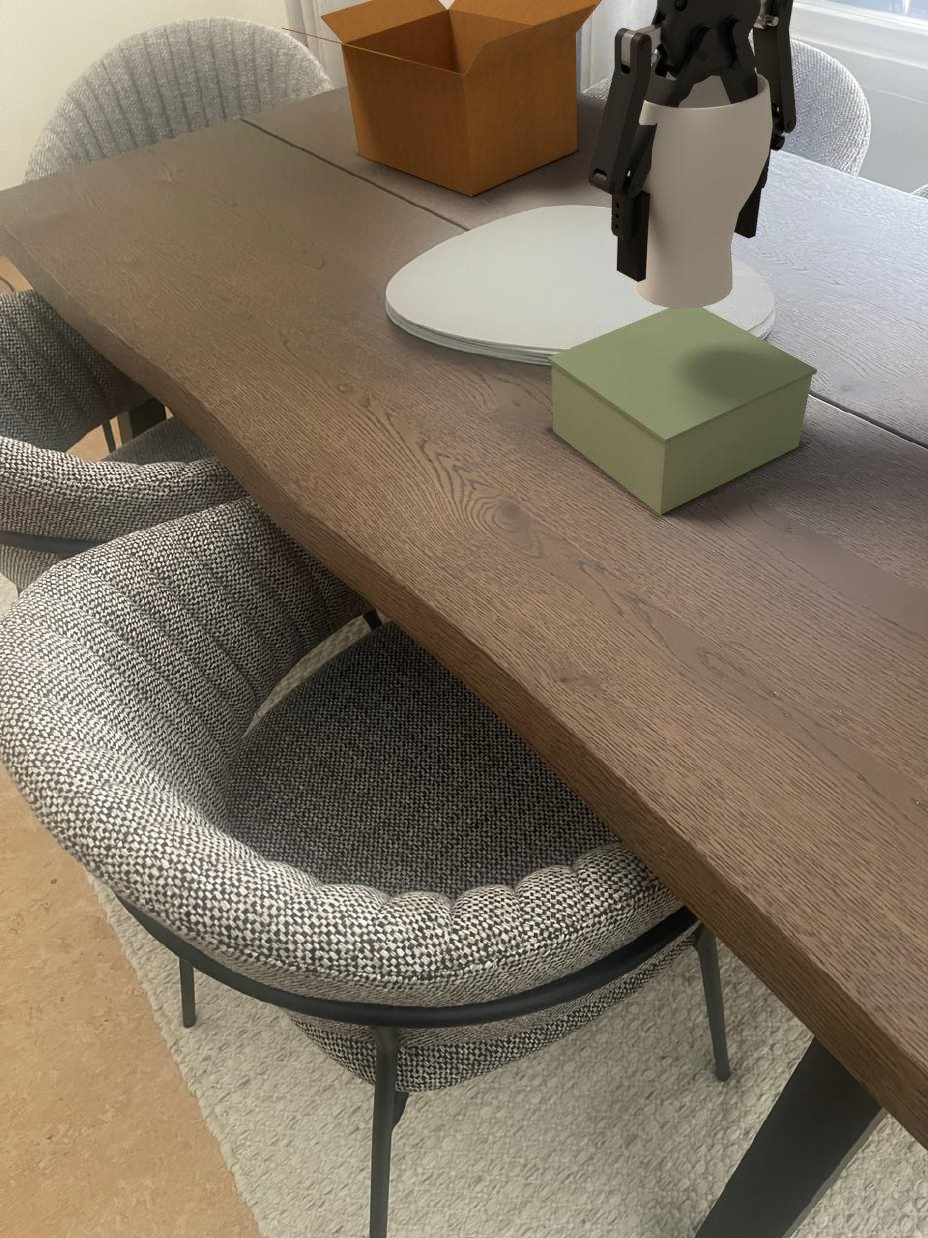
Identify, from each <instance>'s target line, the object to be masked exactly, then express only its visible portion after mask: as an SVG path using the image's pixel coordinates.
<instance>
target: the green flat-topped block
mask: <svg viewBox="0 0 928 1238" xmlns="http://www.w3.org/2000/svg"><path fill="white" fill-rule="evenodd" d="M547 361H548V362H549V363H550V365H551V395H552V397H551V399H552V400H551V402H552V432H553V433H554V434H556V435H557V436H558V437H560V438H561V439H562V440H564V441H565V442H566V443H568V445H570V446H572V447H573V448H574V449H575V450H577V451H578V452H579V453H580V454H582V456H584V457H585V458H586V459H588V460H590V462H592V463H593V464H594V465H596V466H597V468H599V469H601V470H602V471H603V472H605V473H606V474H607V475H608V476H610V477H611V478H612V479H613V480H614V481H616V482H618V483H619V485H621V486H622V487H624V488H625V489H627V490H628V491H629V492H630V493H632V495H634V496H635V497H637V498H638V499H639V500H641V501H642V502H643V503H644V504H645V505H646V506H648V507H649V508H651V509H652V510H653V511H655V512H656V513H657V514H659V515H660V516H661V515H663V514H665V513H667V512H669V511H671V510H673V509H675V508H678V507H679V506H681V505H683V504H685V503H688V502H690V501H691V500H694V499H695V498H698V497H700V496H701V495H703V494H706V493H708V492H710V491H711V490H714V489H716V488H717V487H720V486H721V485H724V484H726V483H729V482H730V481H732V480H734V479H736V478H738V477H740V476H742V475H744V474H746V473H748V472H750V471H752V470H754V469H757V468H758V467H760V466H762V465H764V464H766V463H768V462H770V461H772V460H775V459H777V458H778V457H780V456H782V455H785V454H786V453H789V452H790V451H792V450H794V449H796V448H798V447H799V445H800V440H801V436H802V435H801V434H802V430H803V425H804V421H805V420H804V419H805V414H806V409H807V404H808V399H809V395H810V389H811V385H812V379H813V376H814V375H816V374H817V372H818V368H816V367H814V366H812V365H810V364H808V363H806V362H805V361H803V360H801V359H799V358H797V357H795V356H793V355H792V354H790V353H788V352H786V351H784V350H782V349H781V348H779V347H777V346H776V345H773V344H771V343H769V342H767V341H765V340H763V339H762V338H760V337H758V336H756V335H755V334H752V333H751V332H749V331H747V330H746V329H744V328H741V327H739V326H738V325H736V324H734V323H732V322H730V321H728V320H727V319H725V318H724V317H722V316H720V315H718V314H715V313H714V312H712V311H710V310H708V309H706V308H705V307H698V308H691V309H677V308H669V307H666V308H665V309H663V310H660V311H658V312H655V313H653V314H650V315H648V316H646V317H643V318H641V319H638V320H635V321H633V322H631V323H629V324H625V325H624V326H621V327H619V328H616V329H614V330H612V331H611V330H610V331H609V332H606V333H603V334H602V335H599V336H597V337H594V338H591V339H589V340H587V341H585V342H582V343H580V344H577V345H575V346H572V347H569V348H568V349H564V350H562V351H560V352H557V353H555V354H552V355H551V356H548V357H547Z"/></svg>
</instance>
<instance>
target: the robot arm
mask: <svg viewBox="0 0 928 1238" xmlns="http://www.w3.org/2000/svg"><path fill="white" fill-rule="evenodd" d="M793 5H794V0H656V8H655V12H654V14H653V18H652V20H651V23H650V25H647V26H644V27H642V28H638V29H635V30H634V29H629V28H628V27H627V28H626V27H621V28H620V29H618V30H617V32H616V33H615V35H614V42H613V43H614V47H613V48H614V53H613V54H614V61H613V62H614V64H613V65H614V67H613V73H612V76H611V82H610V85H609V89H608V93H607V98H606V102H605V105H604V109H603V110H604V111H603V115H602V117H601V118H602V119H601V123H600V126H599V131H598V135H597V139H596V142H595V143H596V144H595V148H594V151H593V157H592V160H591V163H590V164H591V165H590V169H589V173H588V176H587V177H588V178H587V181H588V184H589V185H590V186H592V187H593V188H596V189H597V190H599V191H602V192H604V193H606V194H608V195H610V196H611V216H610V217H611V219H610V220H611V221H610V229H611V233H612V235H613V236H615V237H617V238H616V239H617V241H616V242H617V243H616V271H617V272H618V273H621V274H622V275H624V276H625V277H627V278H629V279H632V280H633V281H635V282H636V283H637V282H640V281H643V280H645V279H646V266H647V246H648V226H649V206H650V194H649V193H647V192H645V191H643V190H641V189H642V187H643V184H644V182H645V180H646V178H647V176H648V173H649V171H650V169H651V165H652V147H653V142H654V138H655V133H656V129H657V124H658V122H657V123H656V124H655V125H640V123H639V119H640V115H641V111H642V107H643V104H644V100H645V101H647V102H650V103H653V104H657V105H661V106H668V107H674V108H678V106H679V104H680V102H681V101H682V100H684V99H686V98H687V97H688V96H689V94H690V92H691V90H692V88H693V86H694V84H697V83H700V82H703V81H704V80H705V79H707V78H708V77H710V76H720V78H721V80H722V83H723V86H724V88H725V91H726V93H727V96H728V98H729V101H730V103H731V104H734V103H739V102H743V101H745V100H748V99H750V98H753V97H755V96H757V95H758V77H757V74H760V75H762V76H763V77H764V78H765V79H766V80H768V83H769V89H770V100H771V112H772V124H773V126H772V133H771V141H770V148H769V155H768V157H767V160H766V162H765V165H764V167H763V169H762V172H761V174H760V177H759V179H758V182H757V184H756V186H755V188H754V190H753V191H752V193H751V194H750V196H749V198H748V199H747V201H746V202H745V204H744V206H743V207H742V209H741V210H740V212H739V214H738V218H737V222H736V226H735V230H734V234H736V235H739V236H741V237H744V238H745V239H749V240H750V239H751V238H754V237H756V236H757V229H758V228H757V227H758V221H759V212H760V205H761V197H762V190H763V189H764V188H765V186H766V185H767V182H768V176H769V167H770V161H771V155H772V151H775V152H779V151H780V150H781V149H782V148H783V147H784V145H785V143H786V137H785V135H783V134H784V133H785V134H791V133H792V132H793V131H794V130H795V128H796V126H797V120H798V119H797V109H796V107H797V106H796V97H795V96H796V95H795V84H794V73H793V59H792V46H791V35H790V34H791V33H790V25H791V20H792V14H793V13H792V12H793V8H794V6H793ZM751 33H752V44H753V47H752V44H751V42H750V38H749V37H750V34H751ZM656 51H657V52H656ZM655 52H656V53H655ZM668 72H669V73H670V75H671V76H672V77H674V78H676V80H670V79H667V78H666V75H667V73H668ZM756 73H757V74H756ZM629 170H630V176H628V173H629Z"/></svg>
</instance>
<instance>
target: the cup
mask: <svg viewBox="0 0 928 1238" xmlns="http://www.w3.org/2000/svg"><path fill="white" fill-rule="evenodd" d="M756 74H757V72H756ZM757 77H758V95H757V96H755V97H753V98H750V99H748V100H745V101H743V102H739V103H734V104H731V103H730V101H729V98H728V96H727V93H726V91H725V88H724V86H723V83H722V80H721V78H720V76H710V77H708V78H707V79H705V80H704V81H703V82H700V83H697V84H694V86H693V88H692V90H691V92H690V94H689V96H688V97H687V98H686V99H684V100H682V101H681V102H680V104H679V106H678V108H674V107H668V106H661V105H657V104H653V103H650V102H647V101H645V100H644V104H643V107H642V111H641V115H640V119H639V123H640V125H655V124H656V123H657V122H658V124H657V129H656V133H655V138H654V142H653V147H652V165H651V169H650V171H649V173H648V176H647V178H646V180H645V182H644V184H643V187H642V189H641V190H643V191H645V192H647V193H649V194H650V206H649V226H648V246H647V266H646V279H645V280H643V281H640V282H637V281H636V288H635V289H636V292H637V293H638V296H640V297H641V298H642V299H643V300H645V301H647V302H649V303H651V304H653V305H656V306H659V307H662V308H663V307H664V308H677V309H691V308H698V307H703V308H705V307H708V306H711V305H714V304H716V303H718V302H721V301H723V300H724V299H726V298H727V297H728V296H729V295H730V294H731V292H732V290H733V288H734V287H733V286H734V285H733V284H734V283H733V281H734V280H733V277H734V276H733V259H732V241H733V237H734V234H735V232H734V230H735V226H736V222H737V218H738V214H739V212H740V210H741V209H742V207H743V206H744V204H745V202H746V201H747V199H748V198H749V196H750V194H751V193H752V191H753V190H754V188H755V186H756V184H757V182H758V179H759V177H760V174H761V172H762V169H763V167H764V165H765V162H766V160H767V157H768V155H769V148H770V141H771V133H772V126H773V124H772V112H771V100H770V89H769V83H768V80H766V79H765V78H764V77H763V76H762V75H760V74H757ZM666 78H667V79H670V80H676V78H674V77H672V76H671V75H670V73H669V72H668V73H667V75H666ZM628 176H630V170H629V173H628Z"/></svg>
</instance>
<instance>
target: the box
mask: <svg viewBox="0 0 928 1238" xmlns="http://www.w3.org/2000/svg"><path fill="white" fill-rule="evenodd" d="M602 1H603V0H453V2H452V3H451V5H450V6H449V7H448V8H446V7H445V5H444V4H443V3H442V2H441V1H440V0H368V1H365V2H361V3H358V4H355V5H351V6H348V7H345V8H342V9H339V10H336V11H332V12H329V13H326V14H323V15H319V18H320V19H321V20H322V21H323V22H324V23H325V24H326V25H327V27H329V30H331V32H332V33H333V34H334V35H335V36H336V37H337V38H338V39H339V40H340V41H341V42H340V41H336V40H332V39H328V38H325V37H321V36H316V35H313V34H309V33H306V32H302V31H298V30H297V31H296V30H294V29H289V28H286V27H281V29H282V30H285V31H289V32H293V33H296V34H299V35H300V34H301V35H304V36H307V37H308V36H309V37H313V38H316V39H319V40H323V41H328V42H331V43H335V44H340V47H341V55H342V59H343V64H344V65H343V66H344V72H345V79H346V84H347V90H348V97H349V103H350V108H351V115H352V121H353V127H354V133H355V134H354V135H355V139H356V145H357V151H358V152H359V156H361V157H364V158H366V159H369V160H372V161H374V162H377V163H380V164H383V165H385V166H388V167H391V168H393V169H396V170H399V171H401V172H404V173H407V174H409V175H412V176H415V177H418V178H420V179H423V180H425V181H428V182H431V183H433V184H437V185H439V186H442V187H444V188H447V189H449V190H452V191H455V192H458V193H461V194H463V195H465V196H469V197H474V196H476V195H479V194H481V193H484V192H486V191H488V190H490V189H493V188H495V187H497V186H499V185H501V184H504V183H506V182H509V181H511V180H513V179H516V178H518V177H520V176H523V175H524V174H526V173H530V172H532V171H534V170H536V169H538V168H540V167H543V166H545V165H548V164H549V163H552V162H555V161H556V160H559V159H561V158H563V157H566V156H568V155H570V154H572V153H575V152H576V150H577V149H578V119H577V118H578V116H577V115H578V112H577V109H578V108H577V107H578V106H577V105H578V104H577V100H578V99H577V94H578V93H577V84H578V83H577V33H578V32H579V30H580V29H581V28H582V26H583V25H584V24H585V23H586V21H587V20H588V19H589V18H590V16H591V15H592V14H593V13H594V11H595V10H596V9H597V7H598V6H599V5H600V4H601V3H602Z"/></svg>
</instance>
